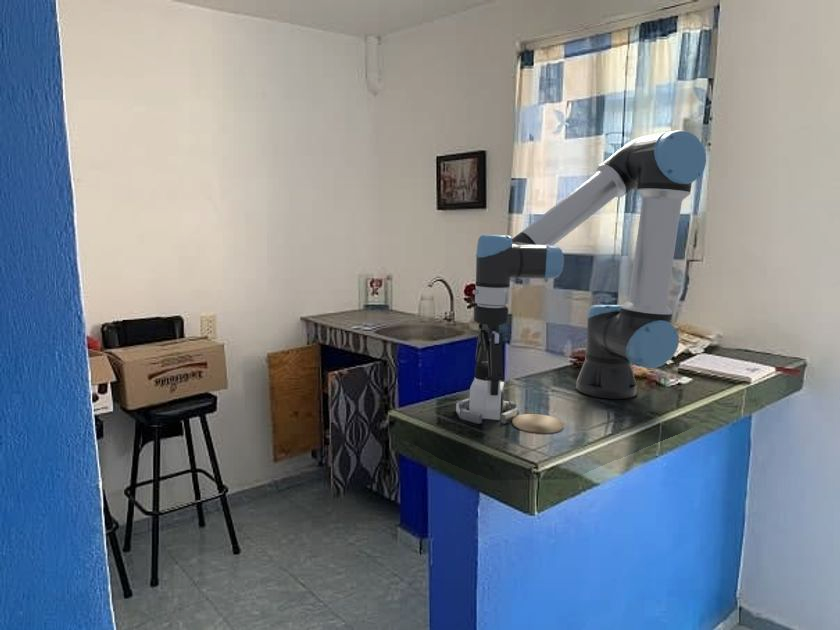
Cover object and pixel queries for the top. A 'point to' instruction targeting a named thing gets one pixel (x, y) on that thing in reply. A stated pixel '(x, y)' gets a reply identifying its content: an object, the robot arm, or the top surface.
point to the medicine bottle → (484, 394)
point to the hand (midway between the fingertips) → (486, 400)
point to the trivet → (537, 423)
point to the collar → (477, 417)
